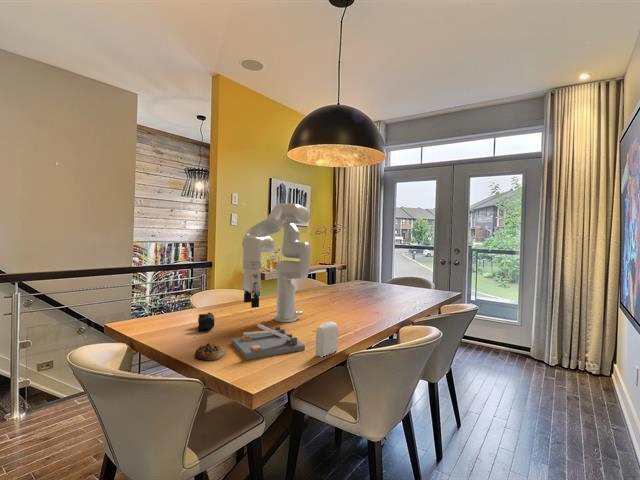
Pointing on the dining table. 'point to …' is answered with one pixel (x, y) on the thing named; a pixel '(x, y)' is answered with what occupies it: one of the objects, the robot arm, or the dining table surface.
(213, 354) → the bread roll
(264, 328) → the strap
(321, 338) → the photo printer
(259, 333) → the strap
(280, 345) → the clamp board
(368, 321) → the dining table surface
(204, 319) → the end cap
